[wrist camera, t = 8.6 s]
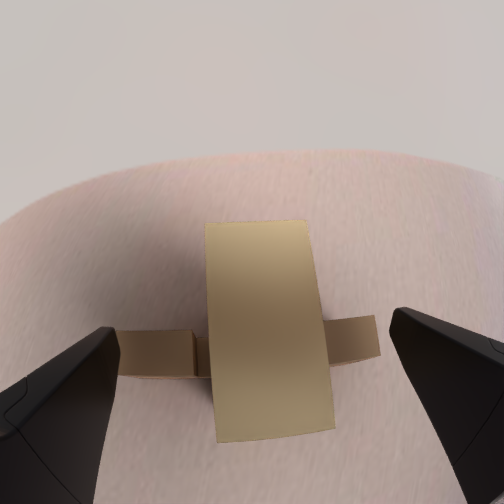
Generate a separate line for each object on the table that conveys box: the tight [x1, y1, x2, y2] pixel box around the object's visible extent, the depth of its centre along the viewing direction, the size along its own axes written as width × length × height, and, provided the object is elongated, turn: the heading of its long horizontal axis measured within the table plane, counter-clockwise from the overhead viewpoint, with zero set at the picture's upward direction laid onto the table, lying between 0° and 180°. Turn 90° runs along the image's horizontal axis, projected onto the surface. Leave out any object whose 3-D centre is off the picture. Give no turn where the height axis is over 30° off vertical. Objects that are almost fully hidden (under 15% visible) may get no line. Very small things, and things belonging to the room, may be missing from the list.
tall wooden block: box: [205, 220, 335, 443], centre depth 12 cm, size 6×3×10 cm, turn 5°
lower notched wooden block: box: [116, 315, 381, 379], centre depth 15 cm, size 12×2×4 cm, turn 95°
